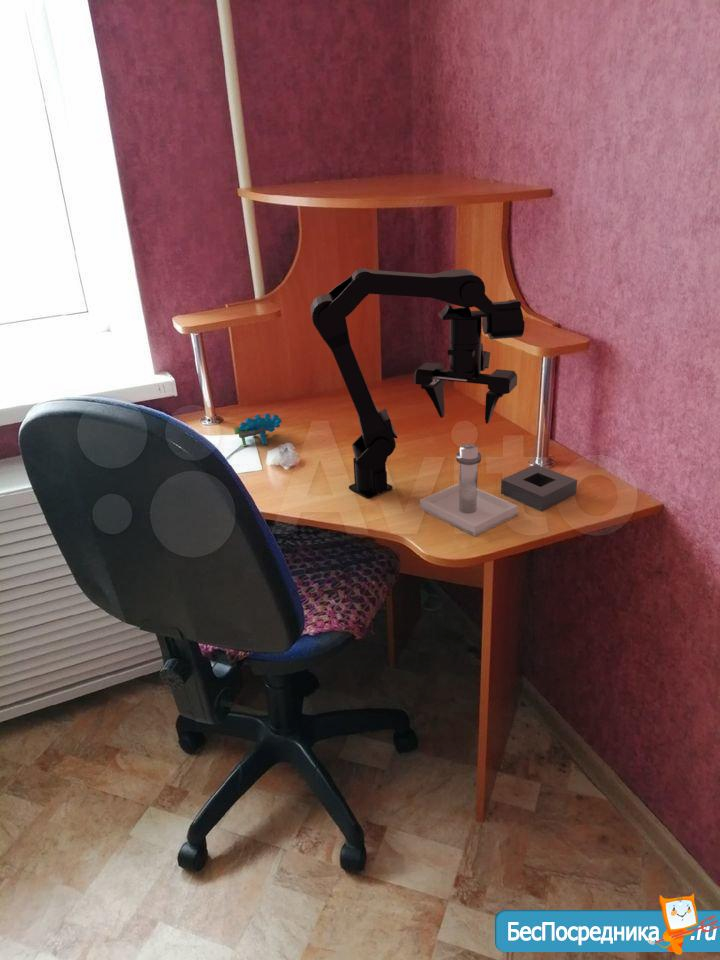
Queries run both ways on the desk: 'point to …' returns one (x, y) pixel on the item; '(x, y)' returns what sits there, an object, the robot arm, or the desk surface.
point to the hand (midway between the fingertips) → (464, 420)
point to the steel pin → (468, 477)
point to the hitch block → (538, 487)
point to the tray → (483, 519)
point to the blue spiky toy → (258, 427)
